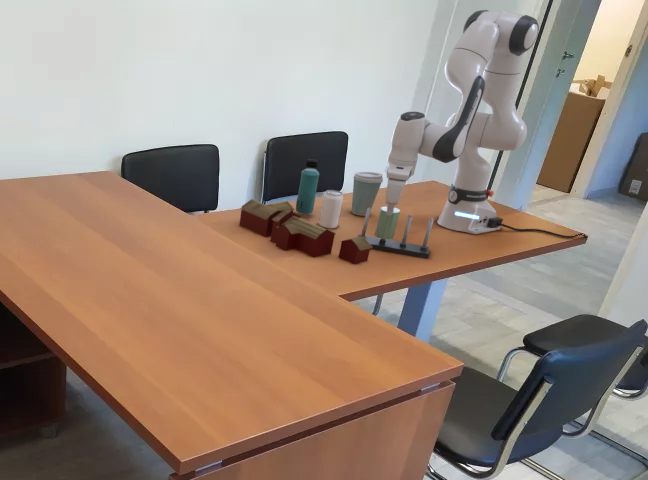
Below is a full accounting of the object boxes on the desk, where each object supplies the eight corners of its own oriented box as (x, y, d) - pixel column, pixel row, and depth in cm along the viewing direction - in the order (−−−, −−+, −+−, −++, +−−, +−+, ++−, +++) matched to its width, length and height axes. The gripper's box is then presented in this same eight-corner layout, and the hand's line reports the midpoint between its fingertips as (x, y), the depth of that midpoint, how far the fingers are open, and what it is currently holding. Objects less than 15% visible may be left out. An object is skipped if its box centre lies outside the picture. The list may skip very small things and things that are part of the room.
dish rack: (428, 251, 232) (438, 215, 226) (427, 258, 226) (437, 222, 220) (357, 238, 239) (365, 204, 233) (354, 245, 233) (362, 210, 227)
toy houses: (233, 226, 242) (236, 197, 237) (276, 218, 253) (281, 190, 248) (331, 271, 211) (338, 239, 206) (376, 260, 222) (383, 229, 217)
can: (337, 229, 246) (344, 195, 240) (318, 227, 247) (324, 193, 240) (336, 224, 251) (343, 190, 245) (318, 222, 252) (324, 188, 246)
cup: (371, 233, 233) (377, 207, 228) (386, 232, 235) (392, 205, 230) (381, 240, 229) (388, 213, 224) (397, 238, 230) (403, 212, 226)
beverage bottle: (314, 215, 259) (325, 160, 248) (308, 219, 254) (318, 163, 243) (298, 211, 261) (307, 156, 251) (291, 215, 256) (300, 160, 246)
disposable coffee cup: (342, 213, 262) (350, 173, 255) (351, 206, 271) (359, 167, 263) (370, 219, 258) (379, 178, 250) (378, 212, 266) (387, 172, 258)
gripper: (392, 158, 230) (383, 200, 237) (387, 173, 213) (377, 217, 220) (412, 161, 228) (402, 203, 235) (408, 176, 211) (398, 221, 219)
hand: (390, 210), depth 228 cm, fingers open, 8 cm apart
